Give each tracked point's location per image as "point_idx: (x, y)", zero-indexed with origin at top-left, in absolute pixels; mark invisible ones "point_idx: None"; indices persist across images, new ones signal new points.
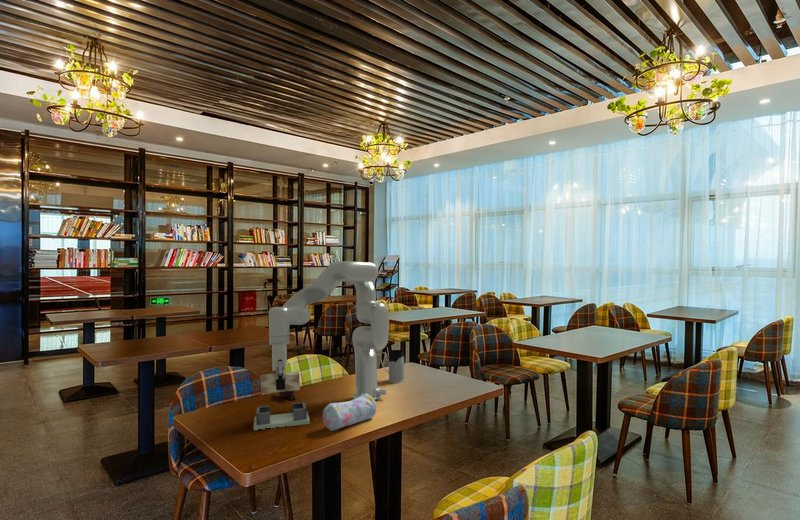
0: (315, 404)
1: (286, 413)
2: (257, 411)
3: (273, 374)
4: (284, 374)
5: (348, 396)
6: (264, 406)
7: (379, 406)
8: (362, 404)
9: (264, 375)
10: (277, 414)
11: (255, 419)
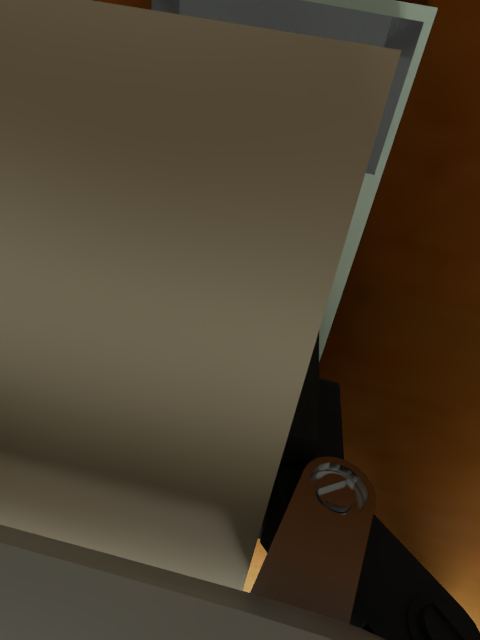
0: (477, 467)
1: (345, 281)
2: (241, 2)
3: (162, 417)
4: (69, 542)
5: (474, 596)
6: (385, 116)
7: (243, 590)
8: None
9: (139, 172)
10: (366, 220)
11: (354, 6)
